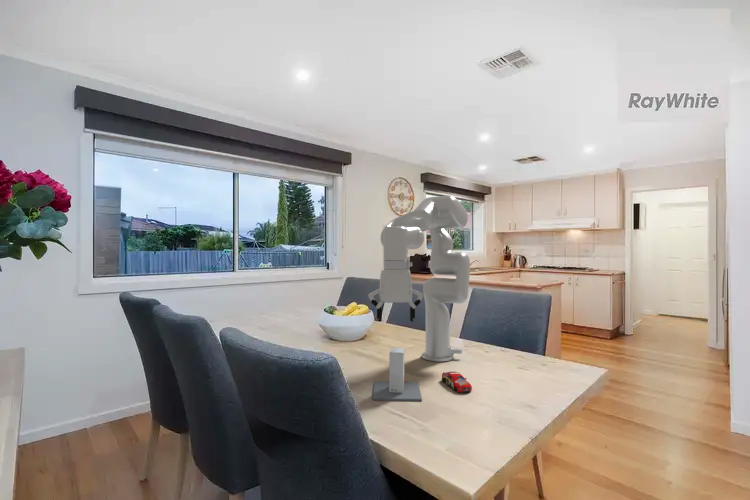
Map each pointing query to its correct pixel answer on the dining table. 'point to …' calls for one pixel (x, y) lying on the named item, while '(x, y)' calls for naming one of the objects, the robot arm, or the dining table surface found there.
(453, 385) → the race car
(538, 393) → the dining table surface
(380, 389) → the mat
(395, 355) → the skincare box
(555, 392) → the dining table surface
